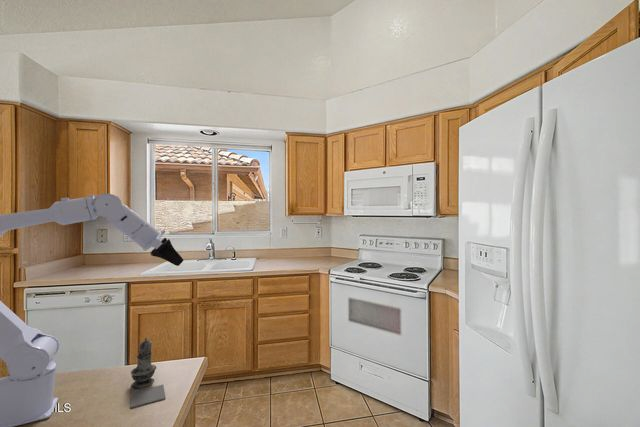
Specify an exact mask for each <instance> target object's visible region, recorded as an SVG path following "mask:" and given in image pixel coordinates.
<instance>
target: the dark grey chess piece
mask: <svg viewBox="0 0 640 427" xmlns="http://www.w3.org/2000/svg"><path fill="white" fill-rule="evenodd" d="M152 355H153V352H152V341H151V340H148V338H147V337H145V338H144V340H143V341H141V342H140V343H139V347H138V354H137V356H136V358H137V365H136V367H135V368H132V370H130V375H131V378H132V380H133V381H134V382H132V384H131V385H130V388H131V389H133V390H143V389H146V388H149V387H150V386H152V385H153V384H154V383H155V379H154V378H152V377H153V376H154V374H155V372H156V370H157V366H156V365H155V364H152Z"/></svg>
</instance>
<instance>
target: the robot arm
mask: <svg viewBox="0 0 640 427" xmlns="http://www.w3.org/2000/svg"><path fill="white" fill-rule="evenodd" d="M98 217H101V218H105V219H106V220H107V221H109V223H111V224H113V227H115V229H117V230H118V231H119V232H121V233H122V234H124V235H125V236H127V237H128V238H129V239H130V240H132V241H133V242H134V243H135V244H137V245H138V246H139V247H140V248H142V250H143V251H148V250H150V249H151V248H153V249H152V250H151V251H150V256H152V257H156V258H159V259H163V260H165V261H167V262H168V263H170V264H172V265H175V266H176V267H179V266H180V265H181V264H182V263H183V262H184V258H183V257H182V256H181V255H180V253H179V252H178V251H177V250H176V249H175V248H174V246H173V244H172V241H171V239H170V238H168V239H167V237H164V238H162V237H163V235H164V234H165V233H166V230H165V229H163V230H162V231H159V230H157V229H156V228H155V227H154V226H153V225H152V224H150V223H149V222H148V221H146V219H144V218H143V216H141V215H139V214H138V213H137V212H136V211H134V210H132V209H131V208H130V207H129V206H127V205H126V204H124V203H123V204H122V201H121V199H120V198H119V196H118V195H117V196H116V195H115V194H111V193H101V194H99V195H97V196H95V194H93V193H92V194H88V196H87V197H79V198H73V199H70V198H69V197H62V198H60V200H59V201H54V203H53V204H51V206H50V207H49V208H44V209H36V210H27V211H19V212H13V213H4V214H0V238H1V237H3V236H4V234H5V233H7V232H9V231H12V230H17V229H21V228H22V229H23V228H27V227H34V226H36V225H42V224H46V223H52V222H55V223H57V224H59V225H61V226H67V225H71V224H76V223H82V222H87V221H88V222H89V221H93V220H96V219H97V218H98ZM161 238H162V240H161ZM59 348H60V343H59V340H58V339H57V337H55V336H54V335H52V334H51V335H50V334H46V333H43V332H42V331H41V330H40V329H39V328H35V327H32V326H29V325H28V324H26V323H25V321H23V320H22V319H21V318H20V317H19V316H18V315H17V314H15V313H14V311H12V309H10V308H9V307H8V306H7V305H6V304H5V303H3V301H1V300H0V360H2V361H3V362H4V363H5V365H6V367H7V372H8V375H7V376H3V377H0V427H17V426H21V425H26V424H28V423H33V422H37V421H42V420H46V419H49V418H50V417H52V413H53V411H54V409H55V407H56V405H57V404H58V403H57V402H58V401H59V397H54V394H55V393H54V392H55V383H56V373H57V372H56V370H57V363H56V362H55V361H54V359H53V357H54V356H55V355H56V354H57V353H58V351H59Z"/></svg>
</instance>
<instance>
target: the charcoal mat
mask: <svg viewBox="0 0 640 427" xmlns="http://www.w3.org/2000/svg"><path fill="white" fill-rule="evenodd" d="M164 400H166V392H165V387H164V384H159V385H156V386H151V387H146V388H142V389H138V390H136V391H131V392H130V409H134V408H137V407H141V406H146V405H149V404H152V403H157V402H159V401H164Z"/></svg>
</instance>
